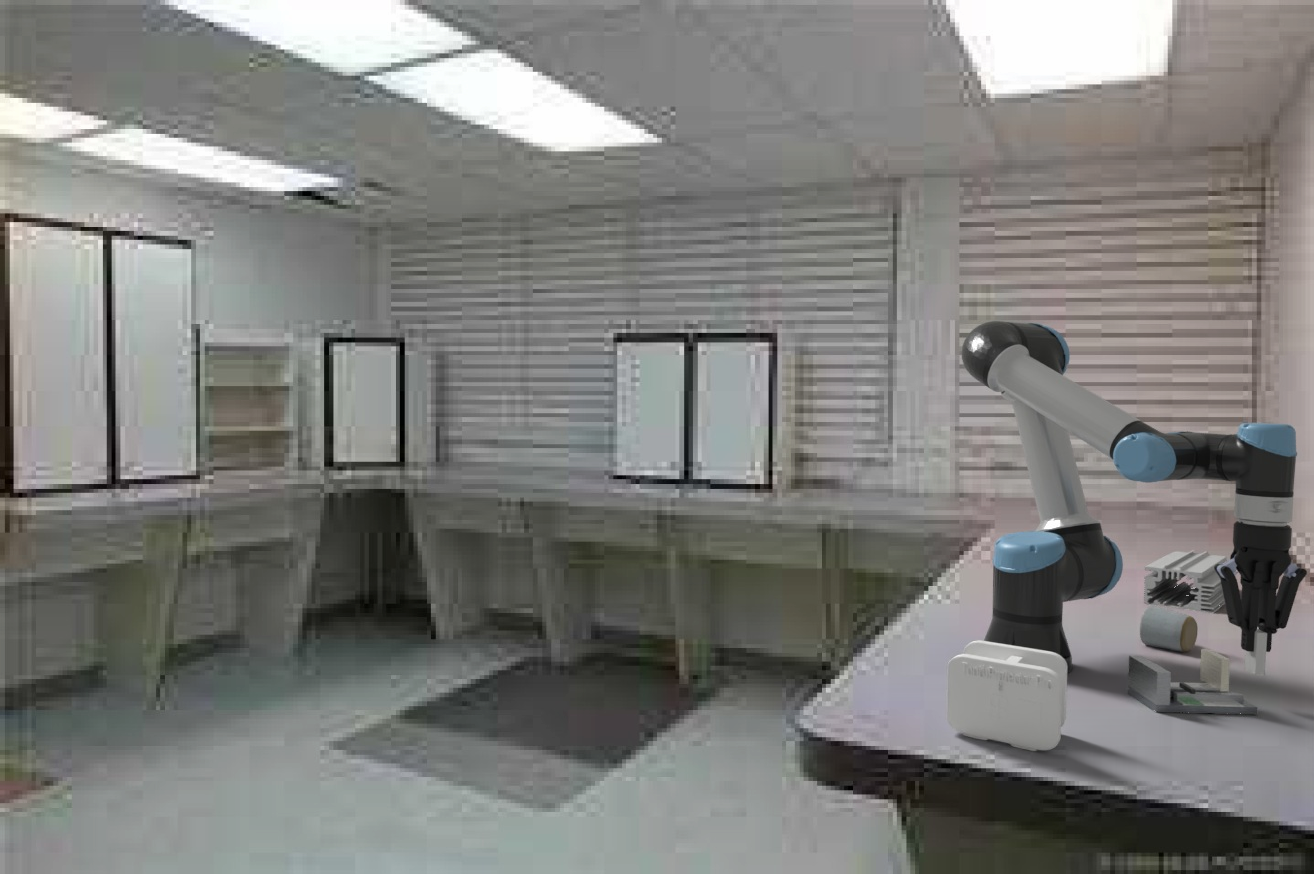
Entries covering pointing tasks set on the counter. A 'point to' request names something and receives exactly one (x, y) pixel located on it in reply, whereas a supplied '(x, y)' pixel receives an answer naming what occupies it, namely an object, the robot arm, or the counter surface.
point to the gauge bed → (1178, 693)
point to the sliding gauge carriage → (1207, 675)
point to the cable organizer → (1007, 694)
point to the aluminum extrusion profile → (1180, 565)
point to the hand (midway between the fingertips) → (1254, 671)
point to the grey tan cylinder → (1168, 629)
